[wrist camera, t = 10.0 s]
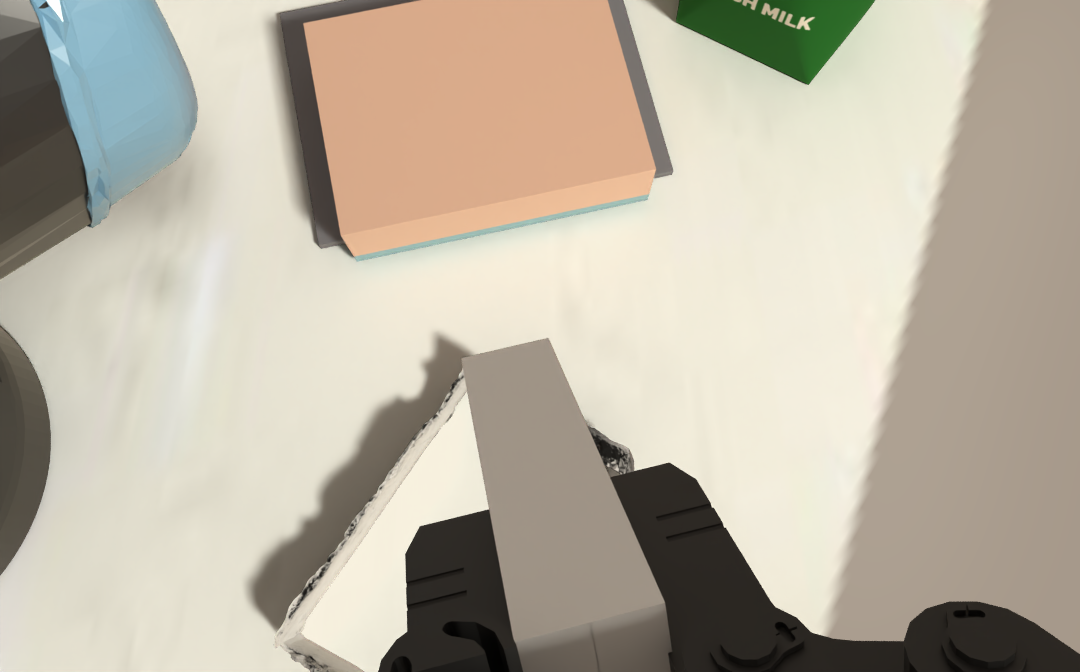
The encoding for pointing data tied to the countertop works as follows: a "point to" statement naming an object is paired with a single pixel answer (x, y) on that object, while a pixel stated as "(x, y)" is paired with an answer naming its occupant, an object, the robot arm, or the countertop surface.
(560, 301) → the countertop surface
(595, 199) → the terracotta tile
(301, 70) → the rubber mat
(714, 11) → the milk carton
